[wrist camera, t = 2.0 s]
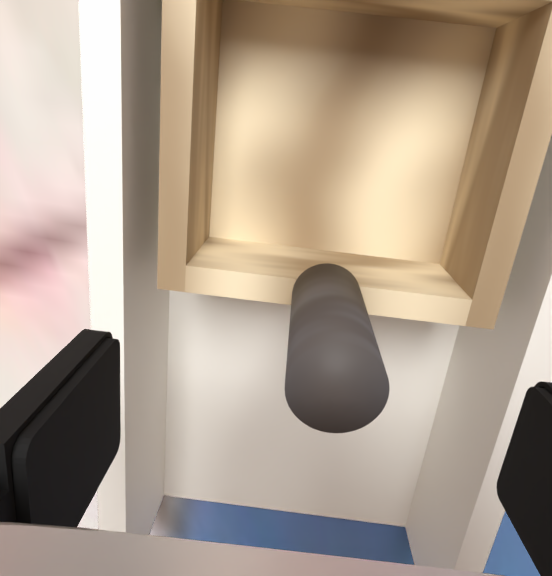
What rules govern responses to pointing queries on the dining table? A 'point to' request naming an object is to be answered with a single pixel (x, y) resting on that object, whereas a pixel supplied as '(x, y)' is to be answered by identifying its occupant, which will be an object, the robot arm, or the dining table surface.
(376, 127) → the box
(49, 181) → the dining table surface
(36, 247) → the dining table surface
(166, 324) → the bay
